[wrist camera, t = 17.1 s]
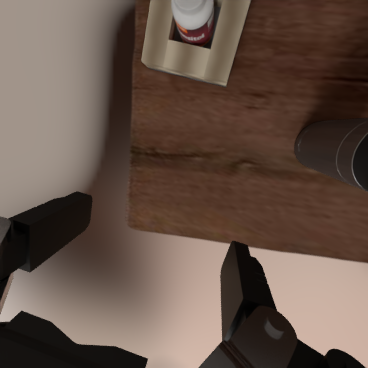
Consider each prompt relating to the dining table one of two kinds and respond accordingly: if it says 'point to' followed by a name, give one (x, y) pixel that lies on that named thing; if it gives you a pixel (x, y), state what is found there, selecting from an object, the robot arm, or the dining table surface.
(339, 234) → the dining table surface
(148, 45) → the socket block
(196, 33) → the pill bottle
